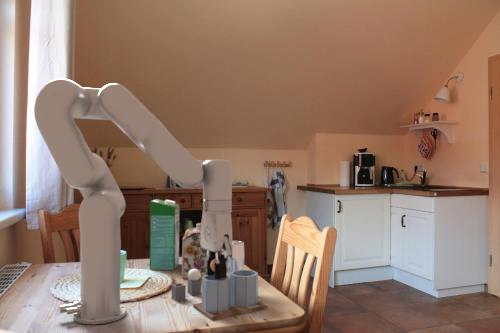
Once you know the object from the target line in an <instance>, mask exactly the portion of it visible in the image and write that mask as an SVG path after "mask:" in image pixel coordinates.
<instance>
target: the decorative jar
mask: <svg viewBox="0 0 500 333" xmlns="http://www.w3.org/2000/svg"><path fill="white" fill-rule="evenodd" d="M195 225H196V227H191V228H187V229H186V230H185V233H184V234H183V237H182V248H181V249H182V250H181V252H182V253H181V278H182V279H184V280H188V279H189V277H188V273H189V271H190V270H192V269H198V270H199V271H200V278H199V280H201V281H202V277H203V276H205V275H207V258H206V256H207V253H206V250H205V249H204V248H203V247H201V245H200V234H201V222H198V223H196V224H195ZM220 251H222V249H221V250H220ZM220 256H221V253H220Z"/></svg>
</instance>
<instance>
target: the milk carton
mask: <svg viewBox="0 0 500 333" xmlns="http://www.w3.org/2000/svg"><path fill="white" fill-rule="evenodd" d="M149 202H150V203H149V205H150V206H149V210H150V211H149V270H153V271H155V270H156V271H157V270H158V271H159V270H160V271H162V270H163V271H164V270H165V271H168V270H169V271H174V270H176V269H177V267H178V265H179V264H180V204H177V203H176V201H175V200H171V199H165V200H163V199H159V198H155V199H153V200H150V201H149Z"/></svg>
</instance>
